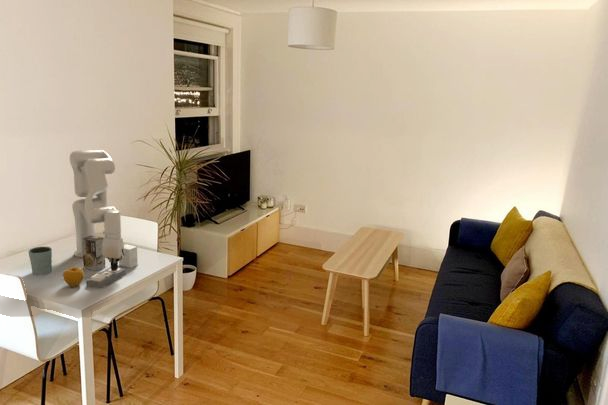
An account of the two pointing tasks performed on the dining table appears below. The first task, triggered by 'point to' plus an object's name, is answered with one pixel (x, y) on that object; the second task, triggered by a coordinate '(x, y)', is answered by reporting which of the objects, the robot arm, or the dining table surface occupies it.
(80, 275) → the apple
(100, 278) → the key
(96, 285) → the keypad housing
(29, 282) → the dining table surface
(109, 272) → the key middle
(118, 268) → the key
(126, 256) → the small box
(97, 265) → the coffee box
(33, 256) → the green cup
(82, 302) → the dining table surface
